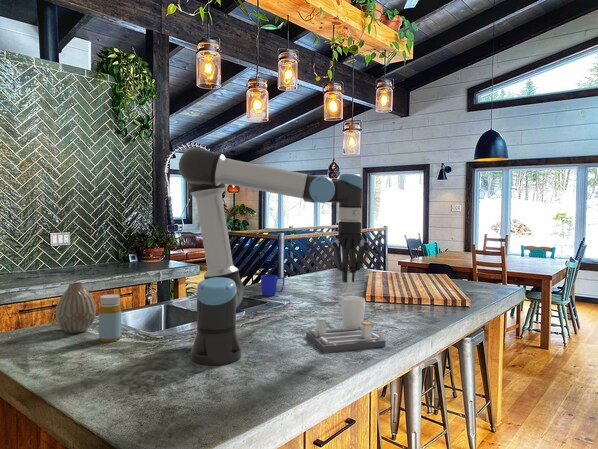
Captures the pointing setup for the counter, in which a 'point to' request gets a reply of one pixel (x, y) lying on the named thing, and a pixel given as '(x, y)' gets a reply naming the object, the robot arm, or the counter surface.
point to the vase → (75, 309)
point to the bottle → (110, 318)
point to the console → (343, 339)
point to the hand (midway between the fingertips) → (347, 291)
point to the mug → (270, 284)
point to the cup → (352, 311)
